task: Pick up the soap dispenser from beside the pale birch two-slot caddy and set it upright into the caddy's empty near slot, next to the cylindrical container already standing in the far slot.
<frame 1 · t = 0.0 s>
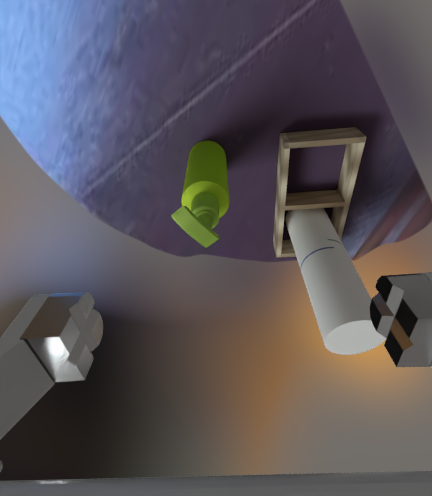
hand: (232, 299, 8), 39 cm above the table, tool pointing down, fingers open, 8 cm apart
cylindrical container: (304, 217, 54), resting in caddy
soap dispenser: (205, 156, 46), on the table
caddy: (308, 193, 50), on the table
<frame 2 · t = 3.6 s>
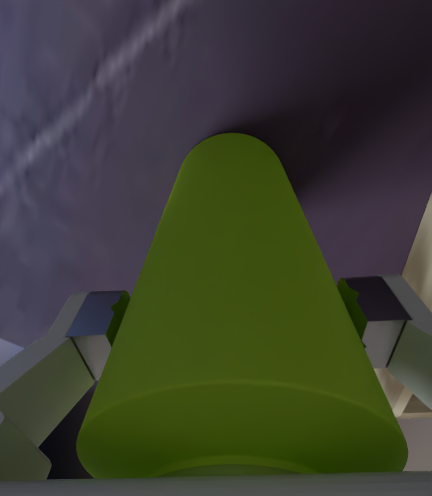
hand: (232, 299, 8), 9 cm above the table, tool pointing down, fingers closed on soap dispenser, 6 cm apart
soap dispenser: (224, 179, 16), on the table, touching gripper
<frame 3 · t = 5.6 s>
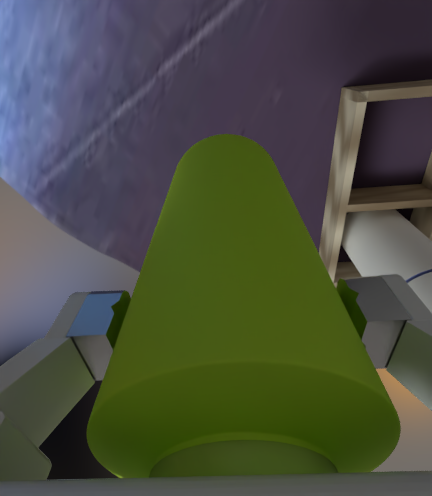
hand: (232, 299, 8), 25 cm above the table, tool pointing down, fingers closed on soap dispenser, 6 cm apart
cylindrical container: (367, 227, 36), resting in caddy
soap dispenser: (219, 180, 16), point 15 cm above the table, touching gripper
caddy: (376, 190, 33), on the table
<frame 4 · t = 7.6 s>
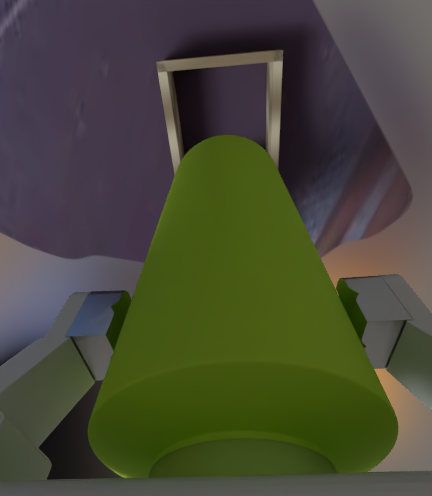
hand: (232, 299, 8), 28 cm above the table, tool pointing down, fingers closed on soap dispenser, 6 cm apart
soap dispenser: (220, 180, 16), point 19 cm above the table, touching gripper
caddy: (225, 162, 35), on the table
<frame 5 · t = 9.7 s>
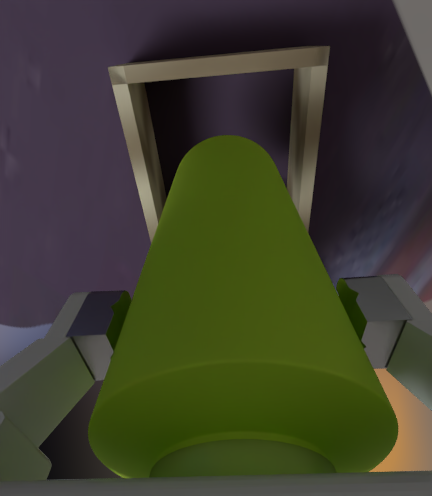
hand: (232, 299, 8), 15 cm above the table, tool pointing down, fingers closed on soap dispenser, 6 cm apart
soap dispenser: (220, 181, 16), point 6 cm above the table, touching gripper
caddy: (227, 210, 24), on the table
when the fingers open (11 cm above the table, at t = 11.7 s): soap dispenser drops 1 cm, resting in caddy.
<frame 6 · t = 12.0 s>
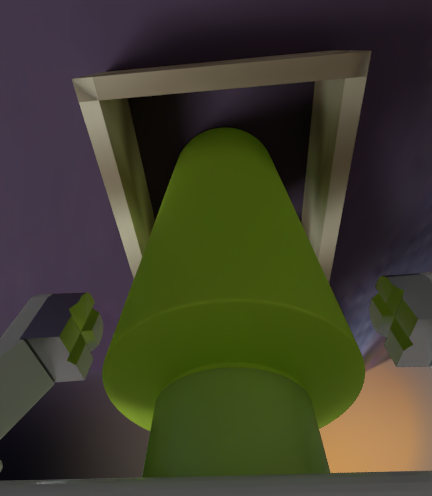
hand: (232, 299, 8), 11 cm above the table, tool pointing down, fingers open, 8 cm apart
soap dispenser: (218, 171, 17), resting in caddy
caddy: (229, 244, 20), on the table
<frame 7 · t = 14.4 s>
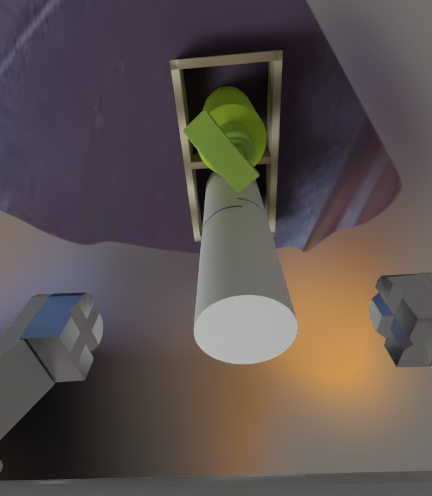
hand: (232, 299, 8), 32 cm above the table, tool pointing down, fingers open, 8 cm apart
cylindrical container: (231, 188, 41), resting in caddy
soap dispenser: (224, 109, 35), resting in caddy
caddy: (229, 153, 38), on the table
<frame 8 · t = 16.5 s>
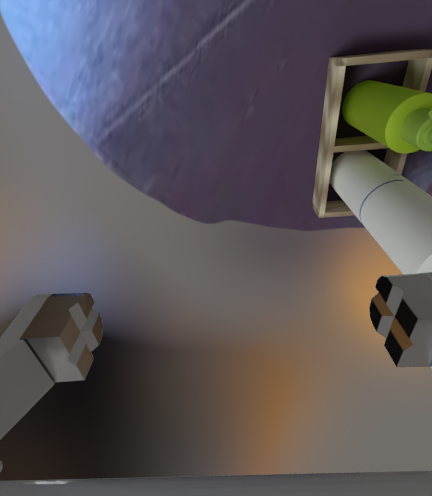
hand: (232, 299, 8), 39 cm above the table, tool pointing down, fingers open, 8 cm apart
cylindrical container: (350, 171, 47), resting in caddy
soap dispenser: (361, 100, 41), resting in caddy
caddy: (357, 139, 44), on the table
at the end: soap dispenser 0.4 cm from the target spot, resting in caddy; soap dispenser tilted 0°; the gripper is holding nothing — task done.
